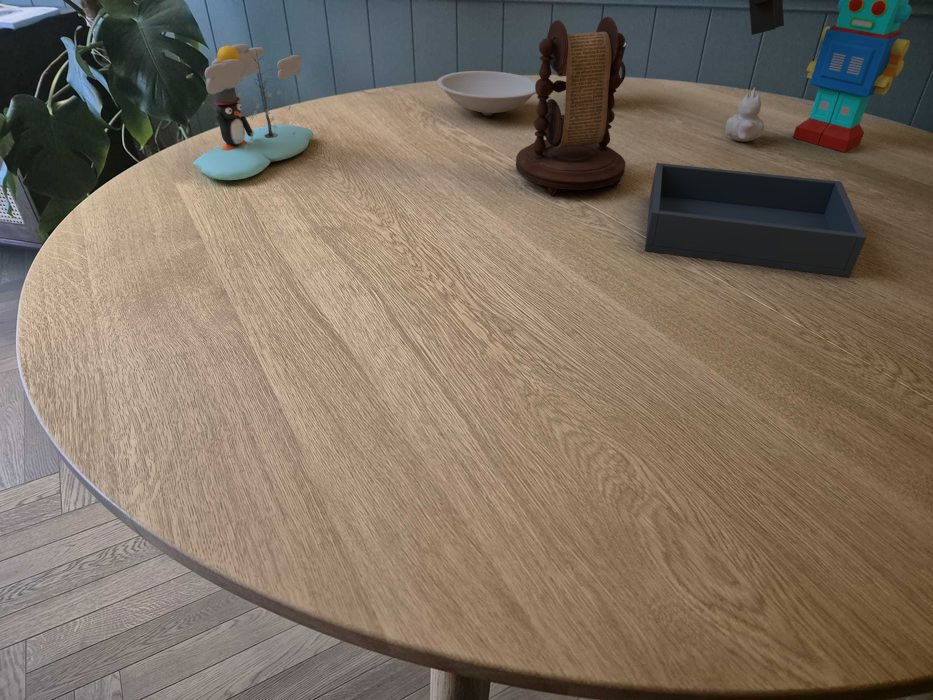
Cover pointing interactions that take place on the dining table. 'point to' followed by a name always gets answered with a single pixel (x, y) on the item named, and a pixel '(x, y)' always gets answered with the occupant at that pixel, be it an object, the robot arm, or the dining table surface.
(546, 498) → the dining table surface
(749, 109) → the white figurine
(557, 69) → the scroll
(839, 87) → the toy robot
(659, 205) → the bin
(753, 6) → the robot arm
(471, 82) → the dish
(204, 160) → the penguin figurine
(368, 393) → the dining table surface
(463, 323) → the dining table surface
